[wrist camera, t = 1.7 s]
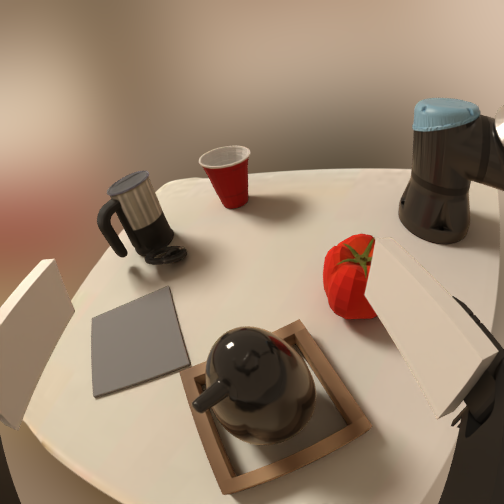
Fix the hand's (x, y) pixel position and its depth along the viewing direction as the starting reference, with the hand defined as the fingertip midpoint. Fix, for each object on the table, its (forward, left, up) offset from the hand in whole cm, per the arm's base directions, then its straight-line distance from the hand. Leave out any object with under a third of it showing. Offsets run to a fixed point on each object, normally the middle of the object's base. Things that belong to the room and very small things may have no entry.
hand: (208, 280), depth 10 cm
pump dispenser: (0, -3, -24) cm, 24 cm away
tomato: (-17, -11, -24) cm, 31 cm away
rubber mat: (+15, -21, -24) cm, 35 cm away
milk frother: (+7, -40, -24) cm, 48 cm away
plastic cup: (-12, -47, -24) cm, 54 cm away
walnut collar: (0, -3, -24) cm, 24 cm away
